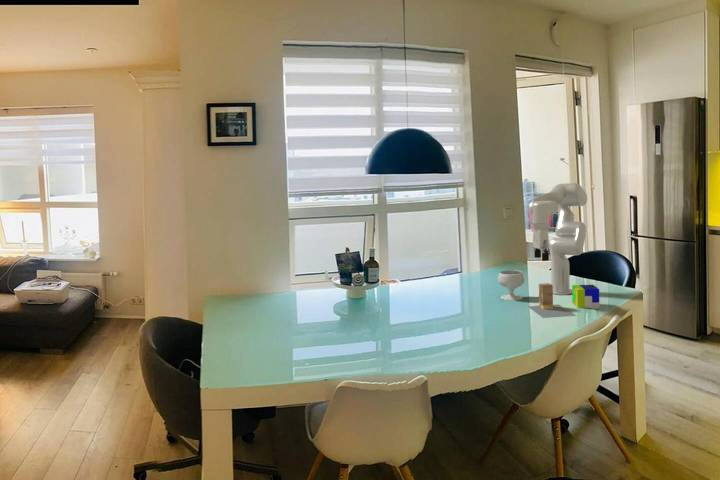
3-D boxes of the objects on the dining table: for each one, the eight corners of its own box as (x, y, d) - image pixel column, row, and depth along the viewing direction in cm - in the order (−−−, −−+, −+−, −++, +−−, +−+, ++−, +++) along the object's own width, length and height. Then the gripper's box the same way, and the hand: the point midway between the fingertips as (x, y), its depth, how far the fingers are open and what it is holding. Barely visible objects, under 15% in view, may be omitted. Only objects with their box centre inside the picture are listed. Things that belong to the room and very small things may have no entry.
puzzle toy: (599, 309, 221) (599, 289, 220) (577, 309, 223) (577, 289, 222) (593, 303, 231) (592, 284, 229) (572, 303, 233) (572, 285, 231)
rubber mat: (527, 307, 231) (527, 306, 231) (558, 305, 231) (558, 304, 231) (542, 319, 211) (542, 317, 211) (576, 316, 211) (576, 315, 211)
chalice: (530, 298, 248) (529, 271, 246) (514, 303, 240) (513, 276, 239) (508, 294, 260) (508, 268, 258) (493, 298, 252) (492, 272, 250)
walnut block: (539, 306, 229) (538, 283, 228) (548, 305, 229) (548, 283, 228) (543, 309, 225) (542, 285, 223) (553, 308, 224) (552, 285, 223)
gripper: (527, 225, 237) (528, 256, 240) (540, 228, 220) (541, 262, 222) (541, 224, 237) (542, 255, 239) (555, 227, 220) (556, 261, 222)
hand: (541, 259), depth 231 cm, fingers open, 9 cm apart
